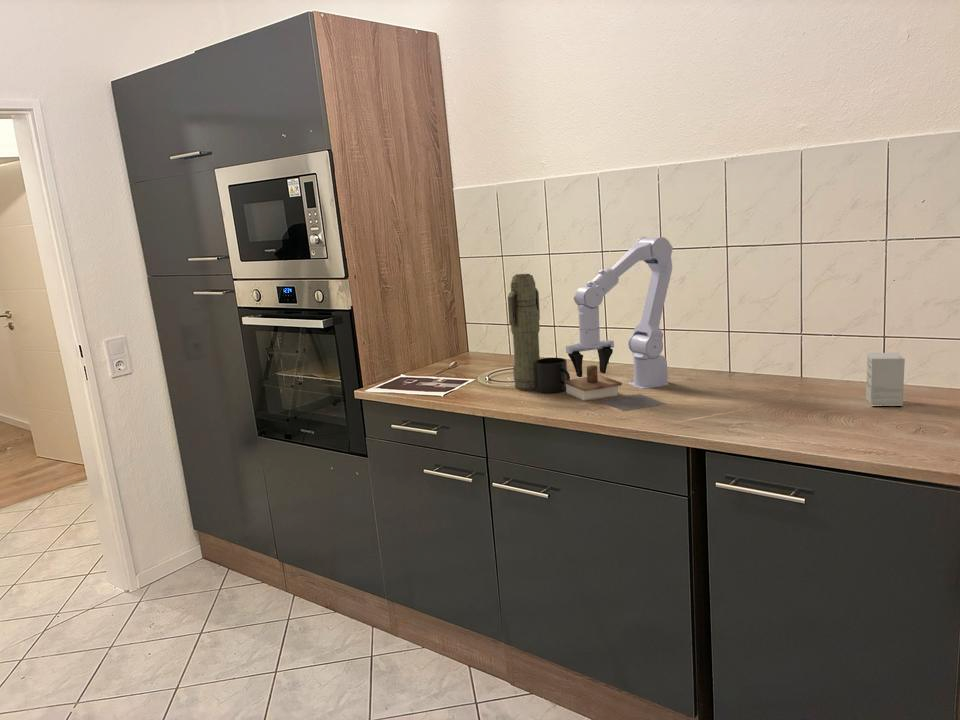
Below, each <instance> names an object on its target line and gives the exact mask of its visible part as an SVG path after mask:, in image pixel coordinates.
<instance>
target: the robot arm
mask: <svg viewBox="0 0 960 720" xmlns="http://www.w3.org/2000/svg"><path fill="white" fill-rule="evenodd" d="M673 250H674V249H673V246H672V244H671V242H670V241H669V239H667V238H666V237H663V236H660V237H647V236H641V237H640V238H638V239H637V240H636V241H635V242H633V243H632V244H631V247H630V248H629V249H628V250H627V251H626V252H625V253H624V254H623V255H622V257H620V258H619V260H617V261H616V262H615V264H613V265H612V266H611V267H610V268H608V267H607V268H606V267H605V268H603V269H601V268H600V269H599V271H598V272H597V273H598V274H597V275H596V276H594V277H593V278H592V279H591V280H588V281H587V282H586V285H583V286H580V287H579V288H577V290H576V292H575V294H574V295H575V296H573V301H574V303H575V304H576V305H577V310H578V326H579V327H578V329H579V343H575V344H571V345H566V346H565V353H566V354H567V355H568V357H569V359H570V361H571V363H572V364H573V367H574V370H575V374H576V377H578V378H583V360H584V354H582V353H581V352H587V351H594V350H596V351H597V355H598V359H599V360H598V363H599V373H600V374H601V373H602V374H604V375H605V374H606V373H607V367H608V364H609V361H610V358H611V357H612V354H613V352H614V349H613V348H615V341H614V340H612V339H607V340H601V335H600V333H601V332H600V329H601V328H600V311H599V310H600V306H601V305H602V302H603V300H604V297H605V295H607V294H608V293H609V292H611V290H612V289H614V288H615V287H616V286H617V285H618V284H619V278H620V277H621V276H622V275H623V274H624V273H626V272H627V271H629V269H631V268H632V267H634V265H637V263H638V262H641V261H643V262H644V263H645V264H647V266H648V267H649V268H650V271H651V273H650V274H651V275H650V279H649V283H648V287H647V288H648V289H647V293H646V297H645V301H644V305H643V310H642V316H641V320H640V322H639V323H638V324H637V325H636V326H634V328H633V332H632V335H631V336H630V337H629V338H628V343H627V344H628V345H627V346H628V349H629V351H630V352H631V353H632V356H633V381H632V382H628V385H630V386H633V387H635V388H638V389H640V390H646V389H651V388H657V387H664V386H669V385H670V384H669V382H668V379H669V378H668V362H667V361H668V360H667V359H666V357H665V356H664V355H663V354H661V353H662V352H663V349H664V341H663V338H664V332H663V331H662V329H661V327H660V323H661V318H662V315H663V310H664V306H665V303H666V296H667V293H668V290H669V285H670V281H671V276H672V271H673V263H672V262H673V261H672V253H673Z"/></svg>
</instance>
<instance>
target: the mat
mask: <svg viewBox="0 0 960 720" xmlns="http://www.w3.org/2000/svg"><path fill="white" fill-rule="evenodd" d="M599 401H600V402H603V403H604V404H607V405H608V406H611V407H613V408H615V409H618V410H620V411H622V412H629V411H634V410H640V409H645V408H651V407H657V406H663V405H666V403H665V402H662V401H660V400H657V399H654V398H652V397H649V396H648V395H644V394H641V393H638V394H637V393H636V394H631V395H625V396H620V397H619V396H618V397H613V398H607V399H606V398H605V399H602V400H601V399H600V400H599Z"/></svg>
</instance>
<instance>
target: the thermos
mask: <svg viewBox="0 0 960 720" xmlns="http://www.w3.org/2000/svg"><path fill="white" fill-rule="evenodd" d="M507 305H508V323H509V325H510V331H511V334H512V341H513V355H514V356H513V358H514V363H513V367H512V371H513V380H514V389H516V390H520V389H521V390H523V391H530V390H531V391H532V390H537V385H536V366H535V361H536V360H539V359H541V358H540V339H539V338H540V337H539V333H540V331H541V330H540V318H541V317H540V316H541V315H540V313H541V312H540V293H539V291H538V288H537V286H536V281H535V279H534V276H533V275H532V274H531V273H517V274H514V275H513V276H512V278H511V281H510V292H509V293H508V295H507Z"/></svg>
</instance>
